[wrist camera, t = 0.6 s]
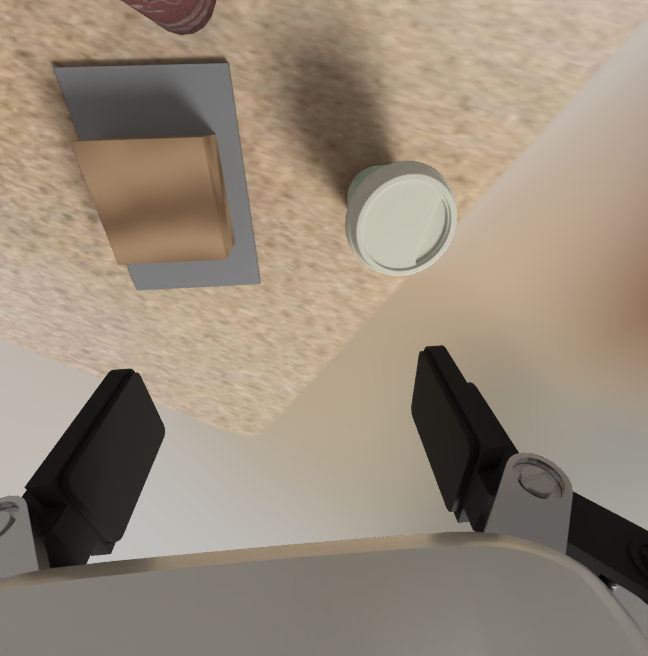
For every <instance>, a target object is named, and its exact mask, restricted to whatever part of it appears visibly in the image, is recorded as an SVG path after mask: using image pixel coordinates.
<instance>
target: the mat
mask: <svg viewBox="0 0 648 656" xmlns="http://www.w3.org/2000/svg"><path fill="white" fill-rule="evenodd" d="M54 71H55V74H56V76H57V79H58V82H59V84H60V87H61V90H62V92H63V95H64V98H65V100H66V103H67V106H68V108H69V111H70V114H71V116H72V119H73V122H74V124H75V127H76V130H77V132H78V135H79V138H80V140H89V139H99V138H120V137H149V136H178V135H208V134H216V138H217V144H218V149H219V155H220V161H221V166H222V172H223V177H224V183H225V189H226V194H227V200H228V205H229V211H230V217H231V222H232V228H233V233H234V239H235V244H234V246H233V248H232V250H231V251H230V253H229V255H228V257H227V259H226V260H205V261H185V262H164V263H144V264H127V265H128V268H129V271H130V273H131V276H132V279H133V281H134V284H135V287H136V289H137V290H154V289H173V288H192V287H211V286H231V285H250V284H260V282H261V281H260V274H259V267H258V260H257V254H256V247H255V240H254V233H253V226H252V219H251V212H250V205H249V198H248V191H247V185H246V178H245V171H244V164H243V157H242V150H241V143H240V136H239V129H238V123H237V116H236V109H235V102H234V95H233V88H232V81H231V74H230V67H229V64H228V63H211V64H172V65H133V66H94V67H55V68H54Z"/></svg>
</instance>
